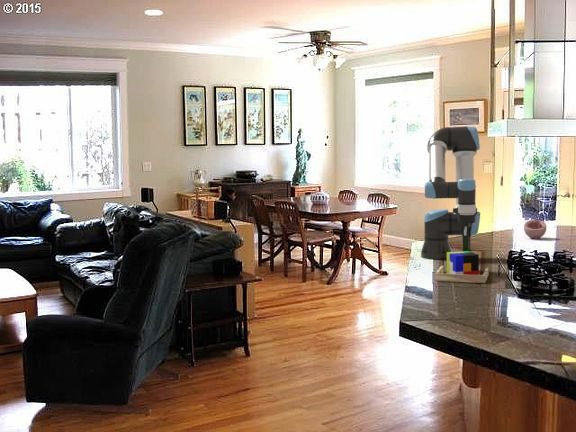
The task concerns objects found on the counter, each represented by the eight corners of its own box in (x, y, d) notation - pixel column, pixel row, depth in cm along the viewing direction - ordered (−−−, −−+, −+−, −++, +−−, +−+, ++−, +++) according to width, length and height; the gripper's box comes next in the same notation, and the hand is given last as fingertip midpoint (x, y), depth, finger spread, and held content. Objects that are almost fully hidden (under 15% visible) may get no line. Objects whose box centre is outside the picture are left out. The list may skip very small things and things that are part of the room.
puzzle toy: (455, 279, 274) (455, 256, 272) (446, 275, 283) (446, 252, 282) (478, 278, 275) (478, 254, 274) (468, 273, 285) (468, 251, 284)
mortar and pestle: (524, 240, 372) (524, 219, 371) (523, 236, 383) (523, 217, 382) (547, 240, 368) (547, 219, 367) (545, 237, 380) (545, 217, 378)
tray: (441, 272, 289) (441, 265, 289) (488, 274, 282) (488, 267, 282) (434, 280, 273) (434, 273, 272) (485, 283, 265) (485, 275, 265)
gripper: (459, 211, 298) (459, 263, 301) (456, 215, 286) (456, 268, 289) (477, 212, 295) (476, 263, 298) (473, 215, 283) (473, 269, 286)
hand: (466, 266), depth 294 cm, fingers closed
